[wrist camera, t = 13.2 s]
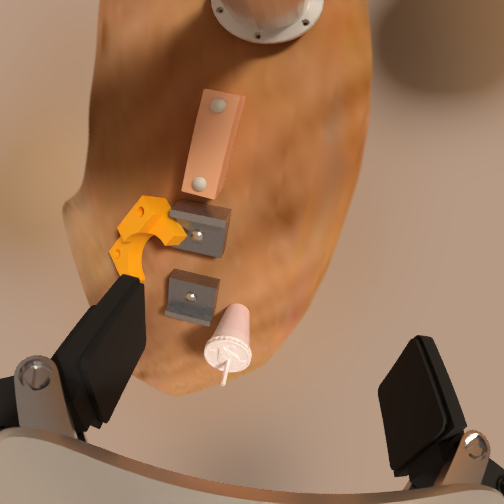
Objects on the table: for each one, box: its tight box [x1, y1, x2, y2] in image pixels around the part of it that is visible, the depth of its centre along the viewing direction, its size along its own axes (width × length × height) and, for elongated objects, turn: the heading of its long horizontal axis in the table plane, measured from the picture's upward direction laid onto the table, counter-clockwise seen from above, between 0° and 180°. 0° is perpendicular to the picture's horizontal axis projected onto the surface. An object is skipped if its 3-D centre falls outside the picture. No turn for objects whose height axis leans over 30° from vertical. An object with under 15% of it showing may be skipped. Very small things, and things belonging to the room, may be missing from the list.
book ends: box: [165, 199, 232, 327], centre depth 43 cm, size 17×7×4 cm, turn 169°
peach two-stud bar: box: [181, 89, 246, 200], centre depth 34 cm, size 12×4×5 cm, turn 165°
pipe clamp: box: [109, 195, 187, 283], centre depth 40 cm, size 12×4×6 cm
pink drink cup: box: [204, 304, 252, 386], centre depth 42 cm, size 6×6×14 cm
